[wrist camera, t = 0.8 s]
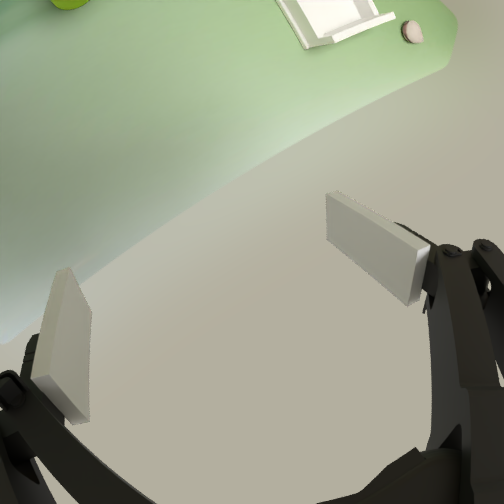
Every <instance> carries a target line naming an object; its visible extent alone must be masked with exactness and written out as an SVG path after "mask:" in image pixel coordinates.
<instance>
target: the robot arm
mask: <svg viewBox="0 0 504 504" xmlns="http://www.w3.org/2000/svg"><path fill="white" fill-rule="evenodd" d="M326 223H327V240H328V241H329V242H330V243H331V244H333V245H334V246H335V247H336V248H338V249H339V250H340V251H341V252H343V253H344V254H345V255H346V256H348V257H349V258H350V259H351V260H352V261H354V262H355V263H356V264H357V265H358V266H360V267H361V268H362V269H363V270H364V271H366V272H367V273H368V274H369V275H370V276H372V277H373V278H374V279H375V280H377V281H378V282H379V283H380V284H381V285H382V286H383V287H385V288H386V289H387V290H388V291H389V292H391V293H392V294H393V295H394V296H395V297H397V299H399V300H400V301H401V302H402V303H403V304H404V305H405V306H407V307H408V306H409V305H411V304H413V303H415V302H417V301H419V299H420V294H421V290H422V289H423V290H424V291H426V292H427V296H426V300H425V304H424V308H423V313H424V314H425V310H426V309H427V316H428V326H429V338H430V354H431V376H432V418H431V434H430V437H429V441H428V443H427V447H426V451H422V452H419V451H418V449H417V448H416V447H415V448H413V449H412V450H411V451H409V452H408V453H406V454H405V455H403V456H402V457H400V458H399V459H397V460H396V461H394V462H392V463H391V464H389V465H388V466H387V467H386V468H384V469H383V471H381V473H379V475H378V476H376V478H374V479H373V480H372V481H371V482H370V483H369V484H368V485H367V486H366V487H365V488H364V489H363V490H361V491H360V492H358V493H356V494H352V495H349V496H345V497H341V498H337V499H333V500H329V501H325V502H321V503H317V504H504V387H501V386H500V383H499V377H498V372H497V366H496V362H497V364H498V367H499V369H500V371H501V374H502V376H503V378H504V254H503V253H502V251H501V250H500V249H499V248H498V247H497V246H496V245H495V244H494V243H492V242H490V241H489V240H486V239H477V240H475V241H474V243H473V247H472V250H470V251H462V250H461V249H460V248H459V247H456V246H454V245H450V244H442V245H440V246H437V245H436V244H434V243H432V242H431V241H429V240H428V239H426V238H424V237H423V236H421V235H418V233H416V232H415V231H412V230H411V229H409V228H408V227H406V226H405V225H402V224H399V223H396V222H392V221H390V220H389V219H387V218H385V217H384V216H382V215H380V214H379V213H377V212H375V211H373V210H371V209H370V208H368V207H366V206H364V205H363V204H361V203H359V202H357V201H356V200H353V199H352V198H350V197H348V196H346V195H344V194H343V193H341V192H339V191H335V192H331V193H327V194H326ZM489 281H490V283H491V290H489V289H488V283H489ZM91 319H92V311H91V309H90V308H89V306H88V303H87V301H86V300H85V297H84V295H83V293H82V291H81V289H80V287H79V285H78V283H77V281H76V279H75V276H74V274H73V272H72V270H71V267H68V268H65V269H62V270H59V271H57V272H56V275H55V278H54V281H53V285H52V288H51V292H50V295H49V299H48V302H47V306H46V309H45V313H44V318H43V321H42V325H41V329H40V333H39V334H35V335H32V337H31V339H30V340H29V342H28V344H27V346H26V350H25V356H24V359H23V364H22V368H21V373H20V377H19V376H18V374H17V373H16V372H14V371H12V370H7V371H4V372H2V373H0V407H1V408H2V409H3V410H1V411H0V504H56V501H55V500H54V498H53V496H52V494H51V492H50V490H49V488H48V486H47V484H46V482H45V480H44V478H43V476H42V474H41V472H40V470H39V467H38V465H37V463H36V461H35V459H34V457H36V456H37V457H38V458H39V459H40V461H41V462H42V463H43V464H44V465H45V467H46V468H47V469H48V470H49V471H50V473H51V474H52V475H53V476H54V477H55V478H56V480H58V482H59V483H60V484H61V485H62V486H63V487H64V488H65V489H66V491H67V492H68V493H69V494H70V495H71V496H72V497H73V498H74V499H75V500H76V501H77V502H78V503H79V504H156V503H155V502H153V501H152V500H151V499H149V498H148V497H146V496H145V495H144V494H142V493H141V492H139V491H138V490H137V489H136V488H134V487H133V486H132V485H130V484H129V483H128V482H126V481H125V480H124V479H123V478H121V477H120V476H119V475H118V474H116V473H115V472H114V471H113V470H112V469H110V468H109V467H108V466H107V465H106V464H104V463H103V462H102V461H101V460H100V459H99V458H98V457H96V456H95V455H94V454H93V453H92V452H91V451H90V450H89V449H87V447H85V446H84V445H83V444H82V443H81V442H80V441H79V440H78V439H77V438H76V437H75V436H74V435H73V434H72V433H71V432H70V431H69V430H68V429H67V428H66V427H65V426H64V421H65V420H64V419H65V418H66V419H67V420H68V421H69V422H70V423H71V424H72V425H76V424H82V423H87V422H90V413H89V412H90V411H89V355H90V334H91ZM495 360H496V361H495Z"/></svg>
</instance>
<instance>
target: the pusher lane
mask: <svg viewBox="0 0 504 504" xmlns="http://www.w3.org/2000/svg"><path fill="white" fill-rule="evenodd" d="M276 2H277V4H278V5H279V7H280V9H281V10H282V12H283V13H284V15H285V17H286V18H287V20H288V22H289V24H290V25H291V27H292V29H293V30H294V32H295V34H296V36H297V38H298V39H299V41H300V43H301V45H302V47H303V48H304V50H305V49H308V48H311V47H316V46H321V45H327V44H333V43H336V42H339V41H341V40H343V39H345V38H348V37H350V36H352V35H355V34H357V33H359V32H362V31H364V30H367V29H369V28H372V27H374V26H377V25H379V24H382V23H384V22H387V21H390V20H392V19H395V18H396V17H395V15H394V12H389V13H383V14H379V13H378V11H377V9H376V7H375V5H374V3H373V1H372V0H276Z"/></svg>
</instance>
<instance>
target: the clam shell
mask: <svg viewBox="0 0 504 504" xmlns="http://www.w3.org/2000/svg"><path fill="white" fill-rule="evenodd" d="M403 35H404V37H405V39H406V40H407V41H410V42H411V43H421V42H423V41H424V40H423V35H422V32H421V29H420V26H419V25H418V23H416V22H415V21H413V20H411V21H406V22H405V23H404V25H403Z"/></svg>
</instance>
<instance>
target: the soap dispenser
mask: <svg viewBox="0 0 504 504" xmlns="http://www.w3.org/2000/svg"><path fill="white" fill-rule="evenodd" d="M51 1H52V2H53V4H54V5H55V6H56V7H58V8H60V9H63V10H71V9H75V8H78V7H80V6H82V5H84V4H85V3H87V2H88V1H89V0H51Z"/></svg>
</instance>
